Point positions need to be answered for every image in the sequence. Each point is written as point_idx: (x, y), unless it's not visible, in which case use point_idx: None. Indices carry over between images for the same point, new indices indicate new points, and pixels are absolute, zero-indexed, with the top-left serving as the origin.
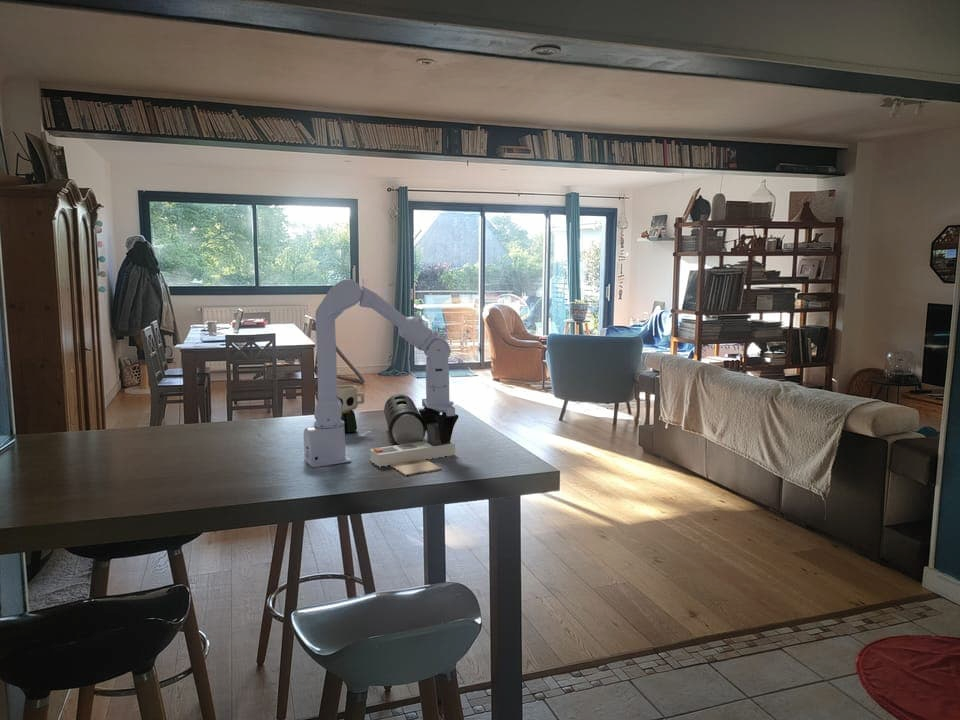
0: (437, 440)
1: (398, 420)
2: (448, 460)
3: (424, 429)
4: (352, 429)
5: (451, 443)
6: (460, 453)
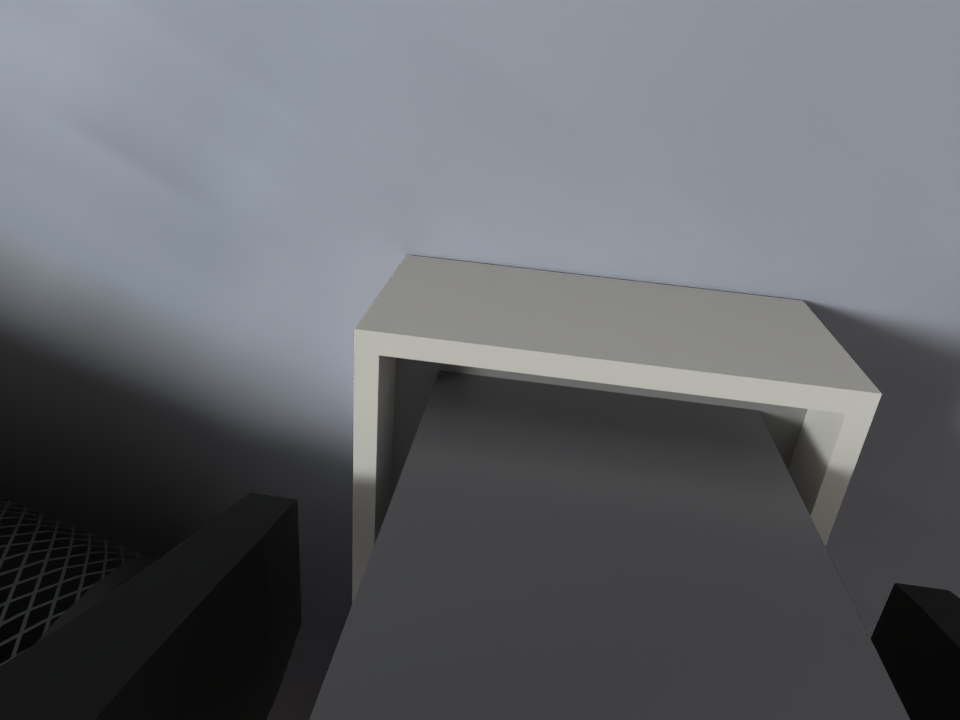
0: None
1: None
2: (940, 519)
3: None
4: None
5: (833, 454)
6: (782, 165)
